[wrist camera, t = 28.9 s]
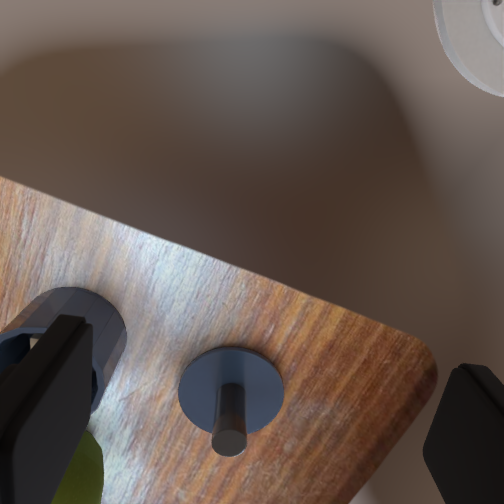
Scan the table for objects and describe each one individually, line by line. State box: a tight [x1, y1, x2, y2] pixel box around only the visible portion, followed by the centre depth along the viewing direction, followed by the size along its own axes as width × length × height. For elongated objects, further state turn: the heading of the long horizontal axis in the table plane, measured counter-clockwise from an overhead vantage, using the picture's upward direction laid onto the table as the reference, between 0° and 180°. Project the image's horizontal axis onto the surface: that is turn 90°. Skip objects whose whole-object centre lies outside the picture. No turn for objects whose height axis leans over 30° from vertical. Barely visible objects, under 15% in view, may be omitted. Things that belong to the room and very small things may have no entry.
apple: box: [51, 431, 104, 504], centre depth 42 cm, size 9×8×12 cm
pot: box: [0, 287, 127, 415], centre depth 39 cm, size 10×10×8 cm
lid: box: [178, 347, 284, 457], centre depth 42 cm, size 11×11×8 cm
